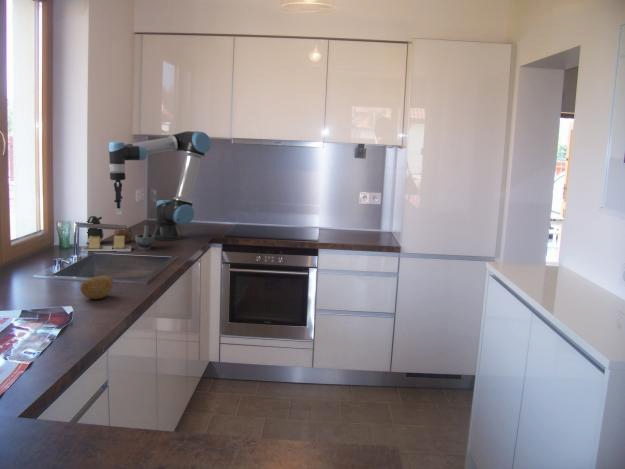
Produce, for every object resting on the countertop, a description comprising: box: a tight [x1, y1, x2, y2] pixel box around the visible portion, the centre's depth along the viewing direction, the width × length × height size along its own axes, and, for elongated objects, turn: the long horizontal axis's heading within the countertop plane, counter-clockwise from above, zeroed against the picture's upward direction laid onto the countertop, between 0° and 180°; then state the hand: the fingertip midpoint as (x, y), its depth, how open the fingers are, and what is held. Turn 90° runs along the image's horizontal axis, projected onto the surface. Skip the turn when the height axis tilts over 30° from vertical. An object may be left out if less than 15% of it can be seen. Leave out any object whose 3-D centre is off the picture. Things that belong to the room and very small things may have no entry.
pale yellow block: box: [88, 236, 101, 249], centre depth 286 cm, size 5×5×7 cm
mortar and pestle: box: [134, 225, 155, 251], centre depth 296 cm, size 11×9×12 cm
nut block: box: [113, 235, 126, 249], centre depth 290 cm, size 5×5×7 cm
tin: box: [113, 227, 133, 243], centre depth 311 cm, size 15×3×8 cm, turn 168°
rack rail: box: [80, 245, 132, 253], centre depth 289 cm, size 24×9×1 cm, turn 106°
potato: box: [80, 274, 114, 300], centre depth 202 cm, size 10×14×8 cm
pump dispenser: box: [86, 215, 104, 243], centre depth 303 cm, size 10×10×15 cm
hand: (119, 212), depth 291 cm, fingers open, 13 cm apart
